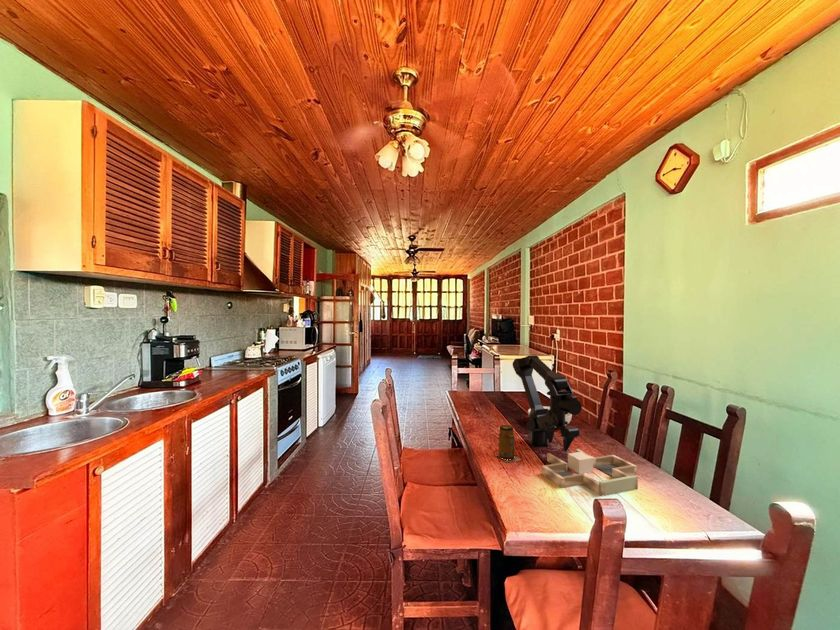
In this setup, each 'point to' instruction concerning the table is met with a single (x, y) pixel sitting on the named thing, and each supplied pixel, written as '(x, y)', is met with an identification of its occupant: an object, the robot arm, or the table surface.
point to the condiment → (507, 444)
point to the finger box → (607, 486)
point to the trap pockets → (567, 479)
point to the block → (580, 462)
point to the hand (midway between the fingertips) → (557, 446)
